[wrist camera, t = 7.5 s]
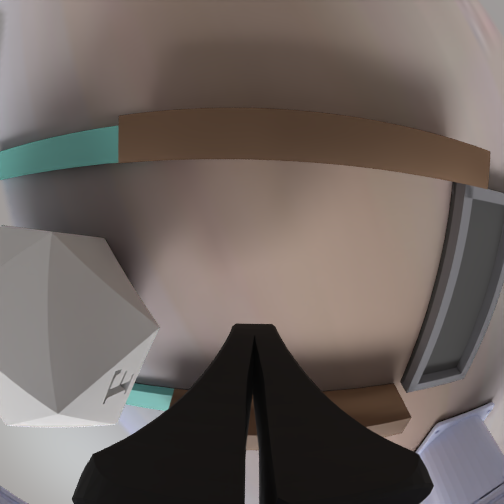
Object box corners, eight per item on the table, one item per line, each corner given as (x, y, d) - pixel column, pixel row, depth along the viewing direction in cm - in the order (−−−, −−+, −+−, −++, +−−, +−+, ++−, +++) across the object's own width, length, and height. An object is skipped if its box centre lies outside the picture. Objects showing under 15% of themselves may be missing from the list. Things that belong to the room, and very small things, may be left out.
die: (92, 365, 15) (147, 490, 8) (-30, 319, 9) (-63, 451, 2) (141, 249, 16) (237, 329, 8) (11, 180, 10) (-59, 197, 3)
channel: (386, 399, 15) (401, 433, 12) (177, 404, 15) (168, 443, 12) (447, 147, 10) (490, 151, 7) (150, 123, 10) (119, 115, 7)
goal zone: (177, 404, 15) (175, 412, 14) (11, 364, 15) (7, 368, 14) (150, 123, 10) (145, 122, 10) (-38, 166, 10) (-44, 167, 9)
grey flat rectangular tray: (457, 369, 15) (463, 378, 14) (400, 382, 15) (406, 392, 14) (509, 194, 11) (521, 198, 10) (453, 180, 11) (465, 183, 10)
